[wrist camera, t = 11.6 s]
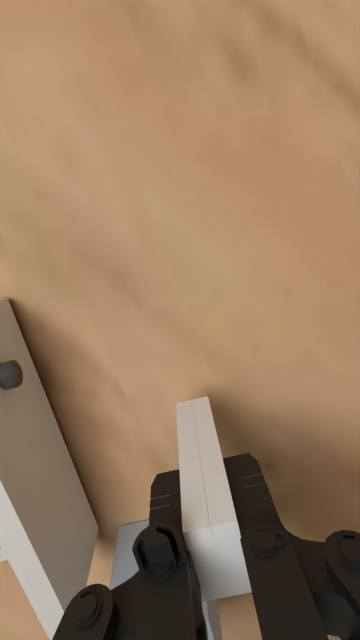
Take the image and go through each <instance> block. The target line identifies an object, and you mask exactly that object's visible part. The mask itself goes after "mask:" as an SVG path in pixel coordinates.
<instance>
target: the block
mask: <svg viewBox="0 0 360 640" xmlns="http://www.w3.org/2000/svg"><path fill="white" fill-rule="evenodd" d="M147 526H149V520H145V521H140V522H136V523H131V524H127V525H122V526H119V530H118V536H117V543H116V549H115V556H114V562H113V569H112V575H111V582H110V588H109V590H111V589H113V588H115V587H117V586H118V585H120V584H122V583H123V582H125V581H127V580H128V579H130V578H131V577H132V576H134V575H135V573H136V572H137V571H138V570H139V567H138V565H137V562H136V559H135V557H134V554H133V551H132V548H133V544H134V541H135V539H136V538H137V536H138V535H139V533H140V532H141V531H142V530H144V529H145V528H146V527H147ZM201 597H202V595H201ZM202 608H203V614H204V618H205V621H206V625H207V633H208V640H222V633H221V626H220V618H219V611H218V604H217V600H212V601H207V602H203V598H202Z"/></svg>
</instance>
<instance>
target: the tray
mask: <svg viewBox="0 0 360 640" xmlns="http://www.w3.org/2000/svg"><path fill="white" fill-rule="evenodd" d="M98 529H99V527H98V525H97V522H96V520H95V517H94V515H93V512H92V510H91V507H90V505H89V502H88V500H87V497H86V495H85V492H84V490H83V487H82V485H81V482H80V480H79V477H78V475H77V472H76V470H75V467H74V464H73V462H72V459H71V457H70V454H69V452H68V449H67V447H66V444H65V442H64V439H63V437H62V434H61V432H60V429H59V427H58V424H57V422H56V419H55V417H54V414H53V412H52V409H51V407H50V404H49V401H48V399H47V396H46V394H45V391H44V389H43V386H42V384H41V381H40V379H39V376H38V374H37V371H36V369H35V366H34V364H33V361H32V359H31V356H30V354H29V351H28V349H27V346H26V344H25V341H24V339H23V336H22V333H21V331H20V328H19V326H18V323H17V321H16V318H15V316H14V313H13V311H12V308H11V306H10V303H9V301H8V298H7V297H3V298H0V562H1V561H5V560H8V561H9V563H10V565H11V567H12V569H13V570H14V572H15V574H16V576H17V578H18V580H19V582H20V584H21V586H22V588H23V590H24V592H25V594H26V595H27V597H28V599H29V601H30V603H31V605H32V607H33V609H34V611H35V613H36V615H37V617H38V618H39V620H40V622H41V624H42V626H43V628H44V630H45V632H46V634H47V636H48V638H49V640H52V639H53V636H54V634H55V632H56V630H57V627H58V625H59V623H60V621H61V618H62V616H63V614H64V612H65V610H66V608H67V606H68V605H69V603H70V601H71V600H72V598H73V597H74V596H75V595H76V594H77V593H78V592H79V591H80V590H82V589H84V588H86V584H87V580H88V575H89V571H90V566H91V562H92V557H93V552H94V548H95V543H96V539H97V534H98Z"/></svg>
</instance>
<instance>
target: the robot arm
mask: <svg viewBox="0 0 360 640" xmlns="http://www.w3.org/2000/svg"><path fill="white" fill-rule="evenodd" d="M176 413H177V433H178V452H179V469H178V470H174V471H169V472H165V473H160V474H157V475H156V477H155V479H154V481H153V483H152V485H151V497H150V498H151V501H150V515H149V526H147V527H146V528H145V529H144V530H142V531H141V532H140V533H139V535H138V536H137V538H136V539H135V541H134V544H133V548H132V551H133V554H134V557H135V559H136V562H137V565H138V567H139V570H138V571H137V572H136V573H135V575H134V576H132V577H131V578H130V579H128V580H127V581H125V582H123V583H122V584H120V585H118V586H117V587H115V588H113V589H111V590H109V588H108V587H107V586H105V585H102V584H93V585H89V586H87V587H86V588H84V589H82V590H80V591H79V592H78V593H77V594H76V595H75V596H74V597H73V598H72V600H71V601H70V603H69V605H68V606H67V608H66V610H65V612H64V614H63V616H62V618H61V621H60V623H59V625H58V627H57V630H56V632H55V634H54V636H53V639H52V640H208V633H207V625H206V621H205V618H204V614H203V608H202V598H203V602H207V601H212V600H217V599H221V598H226V597H231V596H236V595H241V594H245V593H250V592H252V595H253V599H254V604H255V608H256V612H257V617H258V621H259V626H260V630H261V634H262V639H263V640H329V639H328V636H327V634H328V635H333V636H338V637H340V639H341V640H360V533H357V532H355V531H348V530H341V531H337V532H334V533H332V534H331V535H330V536H329V537H327V539H326V541H325V542H316V541H308V540H304V539H300V538H298V537H296V536H294V535H293V534H291V533H290V532H288V531H287V530H286V529H285V527H284V526H283V525H282V523H281V521H280V519H279V516H278V514H277V511H276V508H275V506H274V503H273V501H272V498H271V495H270V493H269V490H268V487H267V485H266V482H265V479H264V477H263V475H262V472H261V469H260V466H259V464H258V461H257V460H256V459H254V458H253V457H252V456H251V455H250V454H249V453H246V454H242V455H237V456H233V457H228V458H224V459H223V458H222V454H221V450H220V446H219V441H218V437H217V433H216V429H215V424H214V420H213V416H212V412H211V407H210V403H209V399H208V396H206V397H202V398H197V399H193V400H189V401H184V402H180V403H176ZM201 595H202V597H201Z"/></svg>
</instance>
